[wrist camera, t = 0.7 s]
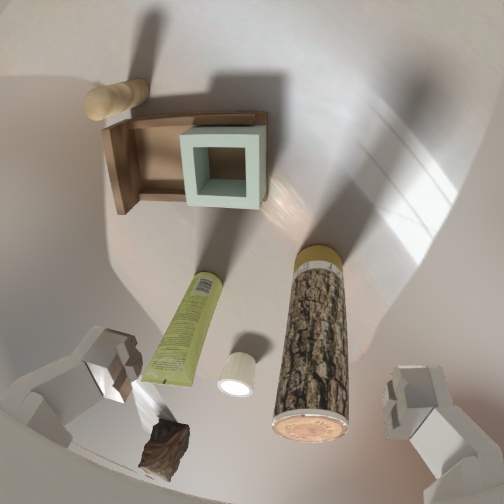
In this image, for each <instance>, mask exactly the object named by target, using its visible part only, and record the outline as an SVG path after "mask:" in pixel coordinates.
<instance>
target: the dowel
mask: <svg viewBox="0 0 504 504" xmlns="http://www.w3.org/2000/svg"><path fill="white" fill-rule="evenodd" d="M149 93H150V90H149V86H148V84H147V83H146V82H145V81H144V80H141V79H134V80H130V81H125V82H120V83H116V84H112V85H107V86H103V87H99V88H96V89H92V90H91V91H89V92H88V93H87V95H86V97H85V99H84V110H85V113H86V115H87V116H88V117H89V118H90V119H92V120H95V121H99V120H101V119H104V118H107V117H109V116H112V115H114V114H117V113H119V112H122V111H125V110H127V109H130V108H133V107H136V106H138V105H141V104H143V103H145V102H146V101H147V99H148V97H149Z"/></svg>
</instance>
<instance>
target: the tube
mask: <svg viewBox="0 0 504 504" xmlns="http://www.w3.org/2000/svg"><path fill="white" fill-rule="evenodd" d="M221 291H222V282H221V281H220V279H219V278H218V277H217V276H215V275H213V274H211V273H208V272H200V273H198V274H196V275H195V276H194V278H193V280H192V282H191V284H190V286H189V288H188V290H187V292H186V294H185V296H184V298H183V300H182V302H181V304H180V306H179V307H178V309H177V311H176V313H175V315H174V317H173V319H172V321H171V323H170V325H169V327H168V329H167V331H166V333H165V335H164V337H163V339H162V341H161V343H160V344H159V346H158V349H157V350H156V352H155V354H154V356H153V358H152V360H151V362H150V364H149V366H148V367H147V369H146V371H145V373H144V375H143V377H142V380H141V382H146V383H154V384H163V385H170V386H180V387H187V388H190V387H191V386H192V384H193V380H194V375H195V371H196V367H197V364H198V360H199V357H200V353H201V350H202V347H203V344H204V340H205V337H206V334H207V331H208V328H209V325H210V322H211V319H212V316H213V313H214V310H215V308H216V305H217V302H218V299H219V297H220V294H221Z"/></svg>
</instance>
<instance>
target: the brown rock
mask: <svg viewBox="0 0 504 504" xmlns="http://www.w3.org/2000/svg"><path fill="white" fill-rule="evenodd" d="M158 420H159V423H158V424H156V425H154V426H153V430H152V434H151V438H150V440H149V441H148V442H147V444H145V446H144V451H143V453H142V459H141V462H140V464H139V465H138V467H139V468H142V469H143V470H144V471H145V472H146V473H149V474H153V475H155V476H158V477H160V478H162V479H163V480H165V481H167V482H170V481H171V477H172V476H173V475H174V473H175V472H176V471H177V469H178V466H179V463H180V459H181V458H182V456H183V455H184V453H185V452H186V450H187V448H188V443H189V436H190V431H189V429H190V428H189V425H187V424H181V423H176V422H172V421H166V420H163V419H158Z"/></svg>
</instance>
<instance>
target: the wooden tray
mask: <svg viewBox="0 0 504 504" xmlns="http://www.w3.org/2000/svg"><path fill="white" fill-rule="evenodd" d="M195 125H266V192H265V195H264V198H263V201H265V202H266V199H267V112H196V113H178V114H164V115H152V116H142V117H136V118H133V119H126V120H123V121H121V122H118V123H116V124H114V125H112V126H109V127H107V128H105V129H103V130H101V131H102V137H103V144H104V150H105V155H106V161H107V166H108V172H109V177H110V182H111V187H112V191H113V196H114V200H115V205H116V209H117V214H118V215H126V214H127V213H128V212H129V211H130V210H131V209H132V208H133V207H134V206H135V205H136V204H137V203H138V202H139V201H140V200H149V201H179V202H187V201H186V193H185V185H184V176H183V166H182V157H181V146H180V136H179V135H180V134H182V133H183V132H185V131H187V130H188V129H190V128H191V127H193V126H195ZM208 156H209V170H210V179H232V180H246V157H245V148H241V147H208Z"/></svg>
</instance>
